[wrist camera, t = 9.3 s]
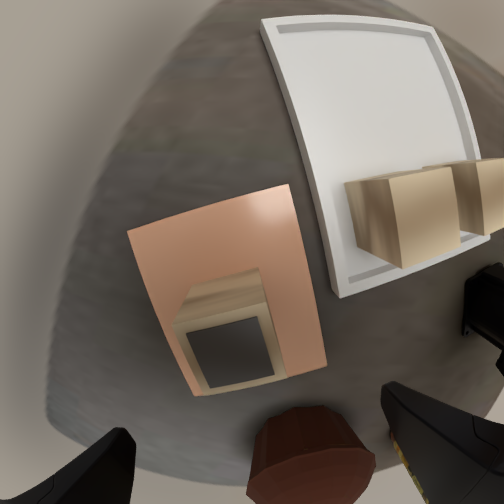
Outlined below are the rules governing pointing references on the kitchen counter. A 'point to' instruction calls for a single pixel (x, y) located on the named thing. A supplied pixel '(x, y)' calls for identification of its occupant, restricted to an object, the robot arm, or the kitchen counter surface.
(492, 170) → the plain box
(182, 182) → the kitchen counter surface
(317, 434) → the muffin
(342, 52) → the white shallow tray
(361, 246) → the plain box
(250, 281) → the labelled box
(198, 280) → the terracotta tile
